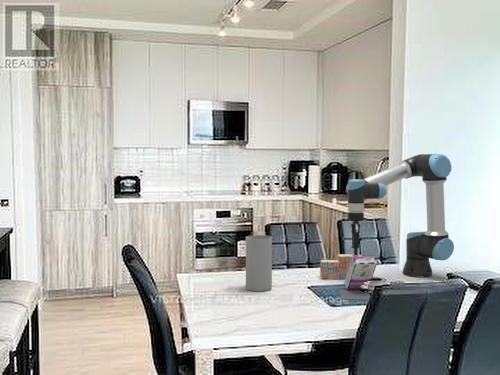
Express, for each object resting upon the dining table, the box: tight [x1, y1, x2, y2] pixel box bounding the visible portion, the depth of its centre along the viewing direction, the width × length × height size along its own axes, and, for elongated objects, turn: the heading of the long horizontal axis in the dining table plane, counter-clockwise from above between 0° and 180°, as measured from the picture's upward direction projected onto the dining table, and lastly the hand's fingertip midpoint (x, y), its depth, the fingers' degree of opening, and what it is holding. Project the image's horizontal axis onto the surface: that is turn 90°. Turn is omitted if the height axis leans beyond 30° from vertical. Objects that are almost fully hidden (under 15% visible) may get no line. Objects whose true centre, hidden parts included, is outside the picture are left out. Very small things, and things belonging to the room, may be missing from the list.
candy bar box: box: [343, 256, 378, 290], centre depth 239 cm, size 11×5×16 cm, turn 105°
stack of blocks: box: [319, 253, 364, 281], centre depth 266 cm, size 21×6×12 cm, turn 89°
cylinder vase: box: [245, 234, 273, 293], centre depth 245 cm, size 12×12×25 cm
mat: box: [338, 289, 370, 301], centre depth 233 cm, size 16×16×1 cm
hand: (355, 261), depth 242 cm, fingers closed
